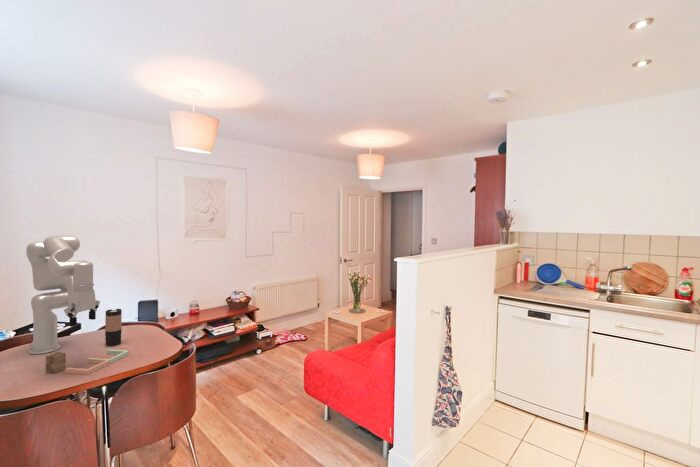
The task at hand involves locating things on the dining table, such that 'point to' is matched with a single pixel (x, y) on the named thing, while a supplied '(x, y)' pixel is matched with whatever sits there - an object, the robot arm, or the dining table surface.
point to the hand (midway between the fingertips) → (82, 322)
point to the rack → (100, 362)
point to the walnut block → (55, 362)
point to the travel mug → (113, 327)
